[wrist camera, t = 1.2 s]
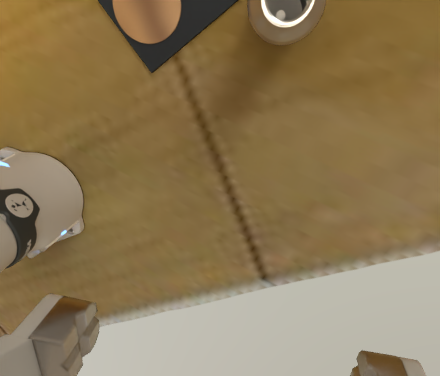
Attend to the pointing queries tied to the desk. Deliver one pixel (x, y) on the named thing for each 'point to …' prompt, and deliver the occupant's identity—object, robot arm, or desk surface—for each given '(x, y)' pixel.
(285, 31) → the plastic bottle
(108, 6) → the desk mat
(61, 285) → the desk surface
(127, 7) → the copper coaster
